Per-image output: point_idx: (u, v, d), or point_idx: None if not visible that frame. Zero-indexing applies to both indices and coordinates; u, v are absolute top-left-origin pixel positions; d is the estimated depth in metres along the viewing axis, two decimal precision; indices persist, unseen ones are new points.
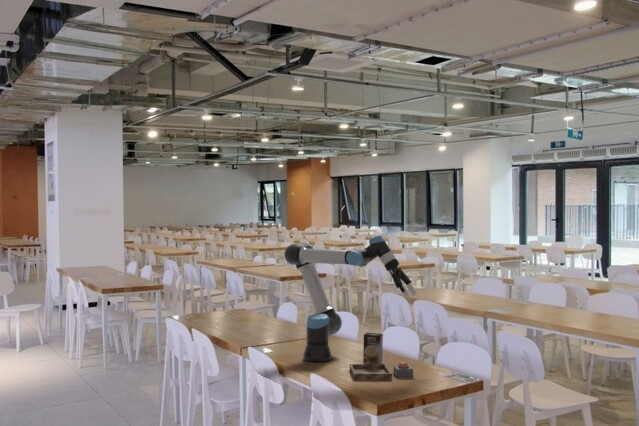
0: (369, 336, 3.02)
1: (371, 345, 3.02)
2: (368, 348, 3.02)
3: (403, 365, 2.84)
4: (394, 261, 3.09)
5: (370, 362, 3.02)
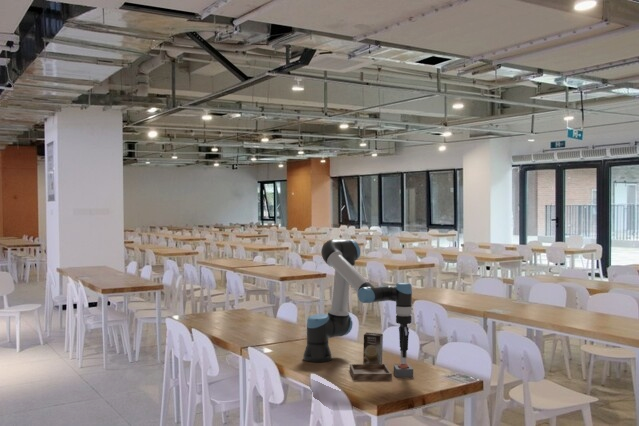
0: (369, 336, 3.02)
1: (371, 345, 3.02)
2: (368, 348, 3.02)
3: (403, 366, 2.84)
4: (410, 319, 2.83)
5: (370, 362, 3.02)
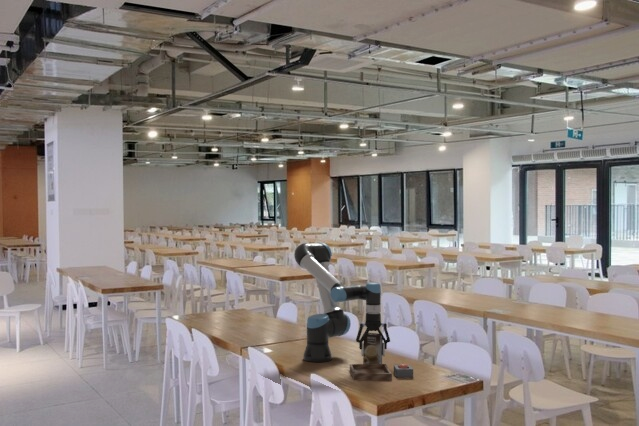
0: (369, 336, 3.02)
1: (371, 345, 3.02)
2: (368, 348, 3.02)
3: (403, 367, 2.84)
4: (369, 316, 3.02)
5: (370, 362, 3.02)
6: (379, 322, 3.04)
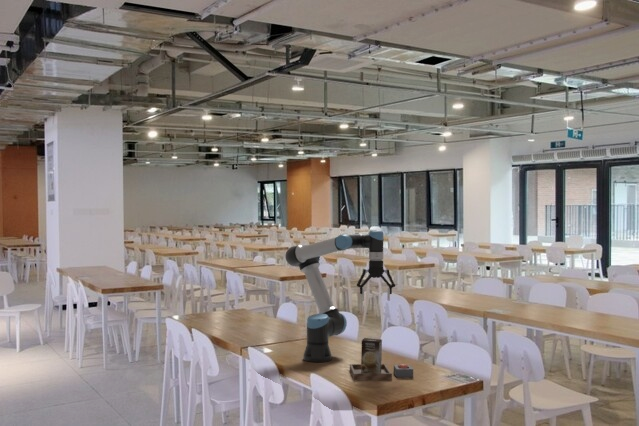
0: (367, 342, 2.83)
1: (370, 351, 2.83)
2: (366, 355, 2.83)
3: (403, 367, 2.84)
4: (372, 263, 3.07)
5: (368, 370, 2.83)
6: (382, 269, 3.09)
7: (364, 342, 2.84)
